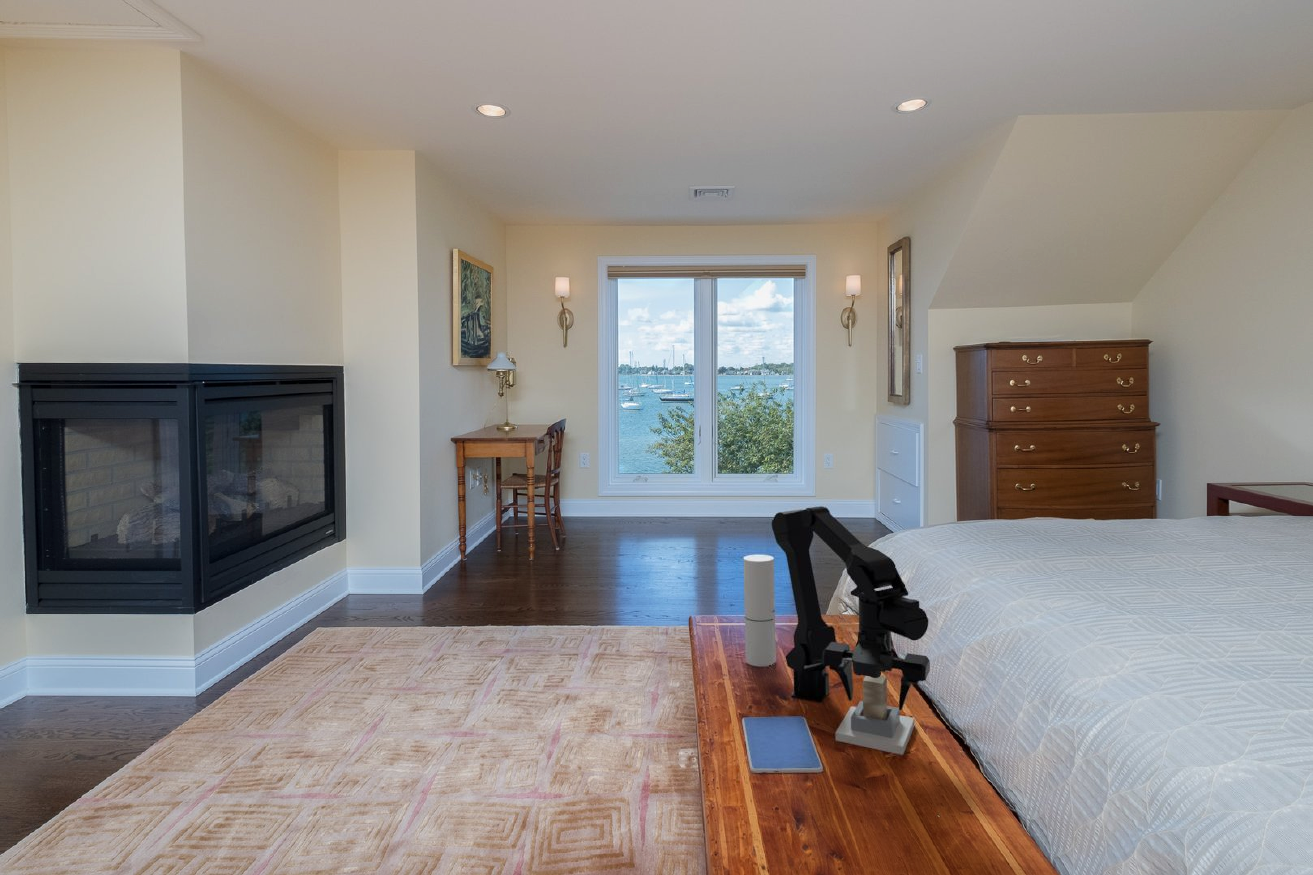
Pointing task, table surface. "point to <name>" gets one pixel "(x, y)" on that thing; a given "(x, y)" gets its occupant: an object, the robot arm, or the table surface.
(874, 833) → the table surface
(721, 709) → the table surface
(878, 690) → the peg
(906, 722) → the socket board
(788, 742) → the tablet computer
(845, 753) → the table surface
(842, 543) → the robot arm
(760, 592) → the cylindrical container
